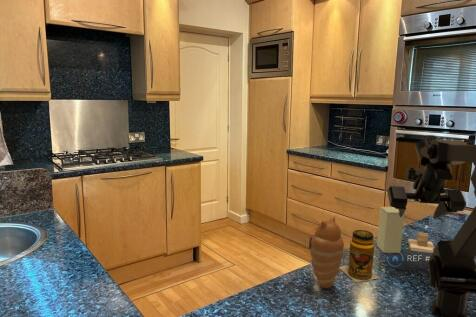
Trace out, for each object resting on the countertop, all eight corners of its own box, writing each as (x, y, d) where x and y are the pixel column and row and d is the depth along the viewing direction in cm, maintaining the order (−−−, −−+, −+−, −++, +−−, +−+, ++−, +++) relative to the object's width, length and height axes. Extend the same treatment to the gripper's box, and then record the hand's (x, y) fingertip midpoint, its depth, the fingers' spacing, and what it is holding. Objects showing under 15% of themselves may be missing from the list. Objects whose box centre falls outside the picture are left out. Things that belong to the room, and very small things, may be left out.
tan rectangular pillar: (400, 252, 110) (404, 212, 107) (383, 252, 110) (387, 212, 107) (392, 245, 115) (396, 207, 112) (376, 245, 115) (380, 206, 112)
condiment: (356, 282, 92) (359, 239, 90) (337, 267, 100) (340, 227, 98) (379, 278, 94) (383, 236, 92) (359, 264, 102) (363, 224, 100)
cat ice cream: (321, 275, 95) (325, 211, 92) (347, 287, 90) (353, 219, 86) (301, 286, 90) (304, 218, 86) (327, 300, 84) (332, 228, 81)
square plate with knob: (435, 253, 109) (437, 240, 109) (411, 250, 112) (412, 236, 111) (431, 244, 116) (433, 231, 115) (407, 241, 118) (409, 228, 117)
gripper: (462, 159, 96) (443, 197, 107) (390, 157, 99) (378, 194, 110) (476, 190, 88) (455, 228, 99) (397, 186, 91) (384, 223, 102)
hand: (416, 216), depth 103 cm, fingers open, 9 cm apart
